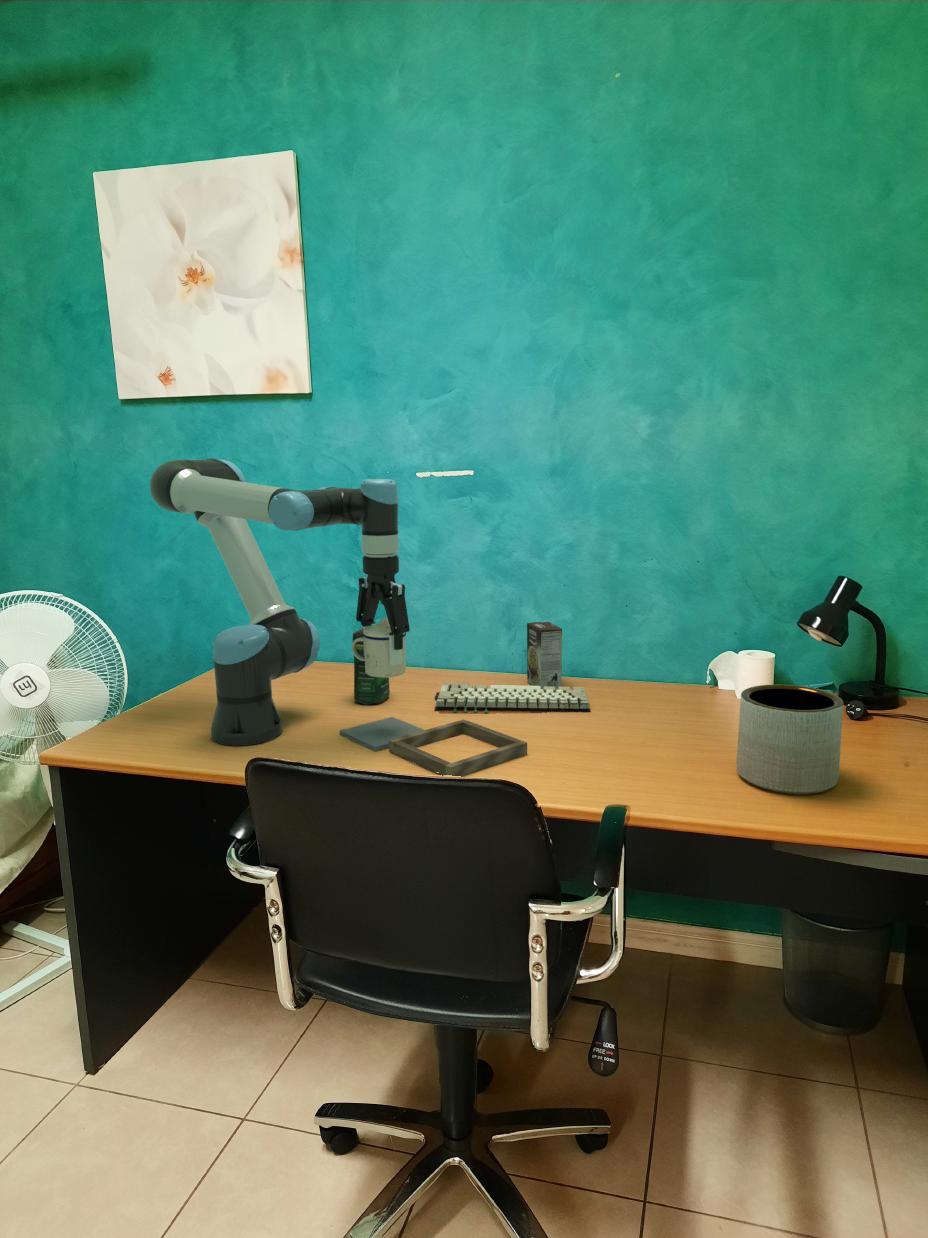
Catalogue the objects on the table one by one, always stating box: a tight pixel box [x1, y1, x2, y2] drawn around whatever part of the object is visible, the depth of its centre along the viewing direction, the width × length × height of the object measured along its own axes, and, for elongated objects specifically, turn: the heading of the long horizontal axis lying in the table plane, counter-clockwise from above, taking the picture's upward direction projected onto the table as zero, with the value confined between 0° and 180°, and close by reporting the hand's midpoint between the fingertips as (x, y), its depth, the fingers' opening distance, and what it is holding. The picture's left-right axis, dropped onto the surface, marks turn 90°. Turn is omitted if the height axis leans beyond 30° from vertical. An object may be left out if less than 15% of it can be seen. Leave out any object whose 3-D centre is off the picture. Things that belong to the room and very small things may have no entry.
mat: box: [339, 716, 425, 752], centre depth 182 cm, size 14×14×1 cm
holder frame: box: [388, 719, 528, 777], centre depth 171 cm, size 20×20×2 cm
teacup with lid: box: [351, 618, 407, 678], centre depth 179 cm, size 12×9×12 cm
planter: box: [735, 684, 844, 795], centre depth 155 cm, size 18×18×16 cm
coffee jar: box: [351, 627, 391, 705], centre depth 207 cm, size 10×8×19 cm
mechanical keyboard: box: [433, 682, 592, 715], centre depth 205 cm, size 38×19×3 cm, turn 87°
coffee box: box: [526, 621, 563, 690], centre depth 217 cm, size 9×6×16 cm
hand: (382, 659), depth 179 cm, fingers closed on teacup with lid, 9 cm apart
